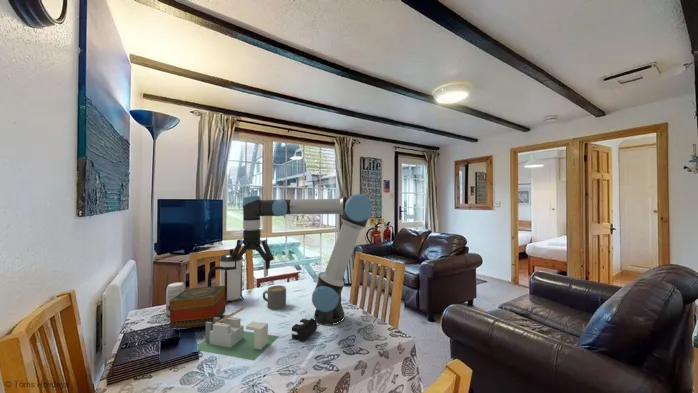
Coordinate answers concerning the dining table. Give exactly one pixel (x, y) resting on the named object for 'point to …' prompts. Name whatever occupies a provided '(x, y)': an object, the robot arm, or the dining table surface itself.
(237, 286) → the coffee press
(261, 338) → the cream white stepped block
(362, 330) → the dining table surface
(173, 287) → the supplement can
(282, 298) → the coffee mug
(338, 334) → the dining table surface
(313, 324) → the end cap
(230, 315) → the golden metal bar
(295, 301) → the dining table surface
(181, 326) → the decorative box
